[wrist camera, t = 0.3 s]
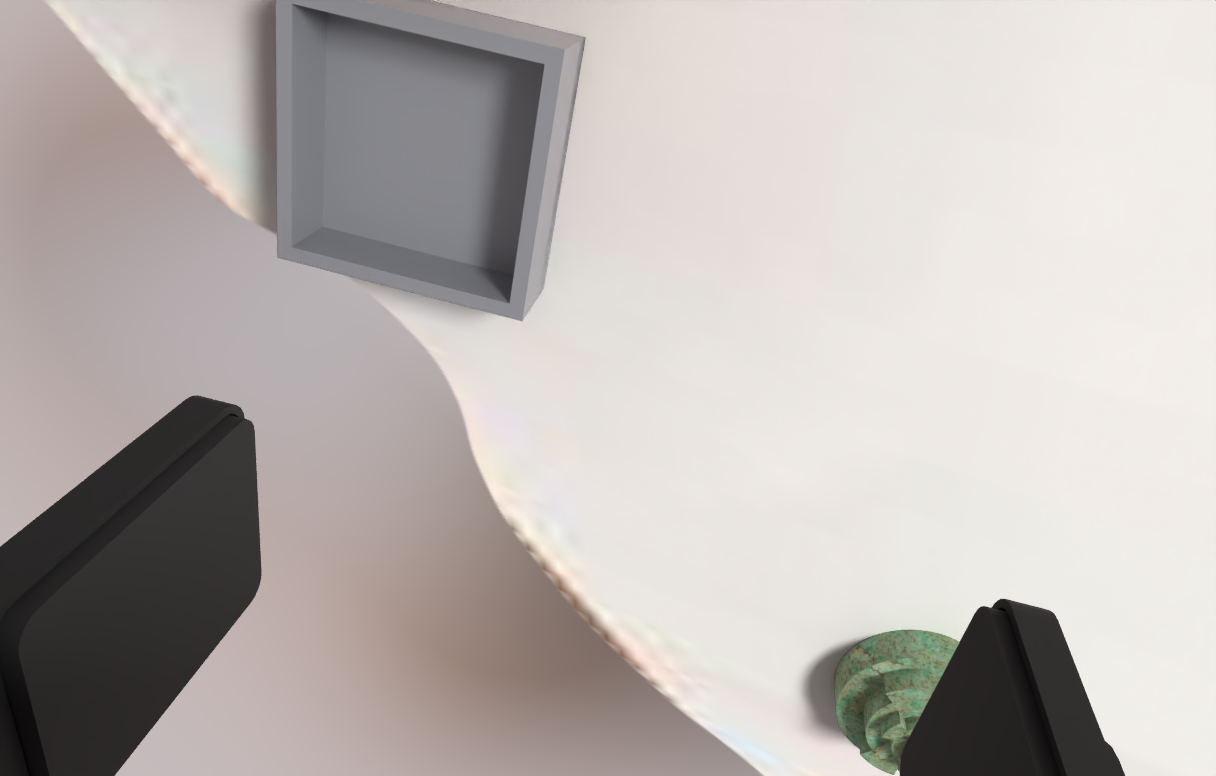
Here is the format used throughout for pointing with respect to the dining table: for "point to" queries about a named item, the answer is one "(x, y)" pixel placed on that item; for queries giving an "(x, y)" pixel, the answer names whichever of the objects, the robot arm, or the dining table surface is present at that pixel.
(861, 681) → the decorative artifact
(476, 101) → the tray
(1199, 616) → the dining table surface
